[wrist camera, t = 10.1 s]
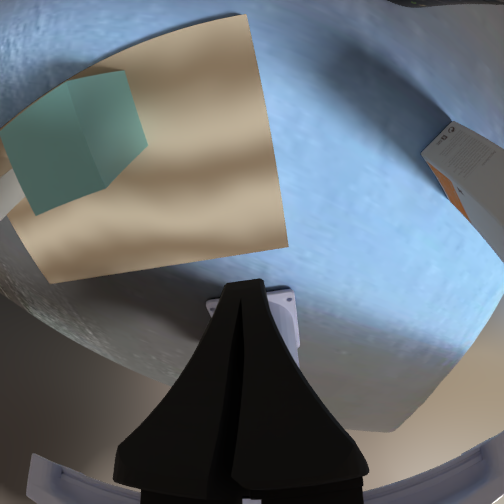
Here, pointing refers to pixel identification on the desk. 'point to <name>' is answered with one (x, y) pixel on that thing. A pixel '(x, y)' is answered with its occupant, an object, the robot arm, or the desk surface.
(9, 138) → the teal green block
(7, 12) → the desk surface
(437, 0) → the supplement bottle
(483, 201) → the skincare box
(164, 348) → the desk surface
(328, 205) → the desk surface
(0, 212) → the grey post
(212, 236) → the board
